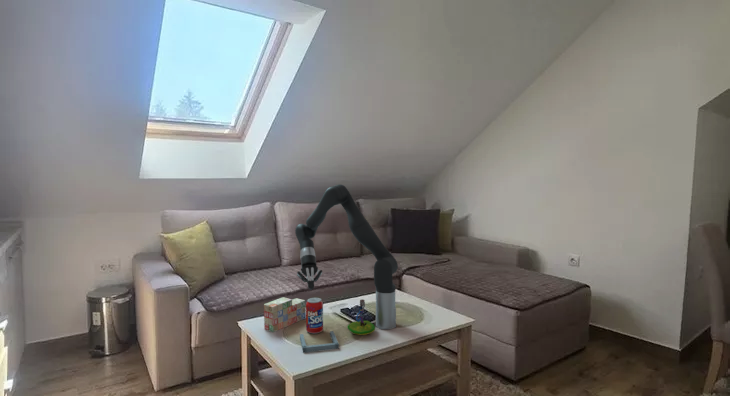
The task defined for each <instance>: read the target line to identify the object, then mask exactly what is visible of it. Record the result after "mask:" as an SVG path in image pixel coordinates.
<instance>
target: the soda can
mask: <svg viewBox="0 0 730 396" xmlns="http://www.w3.org/2000/svg"><path fill="white" fill-rule="evenodd" d="M305 306H306V318H305V329H306V332H307V333H309V334H314V335H315V334H316V335H317V334H319V333H321V332H323V330H324V302H323V301H322V298H319V297H311V298H308V299H307V300H306V302H305Z"/></svg>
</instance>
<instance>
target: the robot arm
mask: <svg viewBox="0 0 730 396" xmlns="http://www.w3.org/2000/svg"><path fill="white" fill-rule="evenodd" d="M338 205H341V206H342V208H343V209H344V211H345V213H346V216H347V221H348V228H349V230H350V232H351V234H352V236H353V237H355V240H357V242H358V243H360V244H361V245H362V246H363V247H365V248H366V249H367V250H369V252H370V253H372V255H373V257H375V259H376V261H375V263H374V266H373V282H374V286H375V328H378V329H381V330H391V329H396V328H397V307H396V285H395V283H394V282H393V279H394V278H393V274H395V273H396V272H397V271H398V268H399V265H398V261H397V260H396V258H395V257H394V256H393V254H392V253H391V252H390V251H389V250H388V248H387V247H386V246H385V245H384V243H383V242H382V241H381V239H380V238H379V236H378V235H377V233H376V232H375V231H374V229H373V227H372V225H371V223H369V222H368V220H367V218H365V216H364V215H363V212H362V211H361V210H360V208H359V207H358V205H357V204H356V201H355V200H354V198H353V197H352V195H351V193H350V191H349V189H348V188H347V187H346V186H345V185H343V184H335V185H333V186H330V187H328V188H326V190H325V192H324V193H323V195H322V197H321V199H320V201H319V203H318V204H317V205H316V208H314V209H313V211H312V213H311V214H310V215H309V216H308V217H307V219H306V220H305V223H299V224H297V225H296V227H295V230H294V231H295V236H296V239H297V241H298V243H299V249H300V253H299V257H300V265H301V266H300V267H301V268H300V270H299V271H297V273H296V276H297V277H298V278H299V279H300V280H302V282H303V283H307V288H308V290H310V291H313V289H315V282H317V281H318V280H319V279H320V277H321V276H322V274H323V270H322V269H319V267H318V265H317V258H316V251H315V246H314V245H315V244H314V240H313V238H315V236H316V233H317V230H318V228H319V227H320V225H321V224H323V222H324V221H325V219H326V216H327V213H328V212H329V210H331V209H332V208H333V207H334V206H338Z"/></svg>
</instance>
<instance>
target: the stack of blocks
mask: <svg viewBox="0 0 730 396" xmlns="http://www.w3.org/2000/svg"><path fill="white" fill-rule="evenodd" d="M263 319H264V320H263V321H264V323H263V324H264V325H263V326H264V330H267V331H269V332H272V333H275V332H277V331H279V330H282V329H284V328H286V327H288V326H291V325H292V324H295V323H298V322H299V321H302V320H306V300H305V299H300V298H297V297H296V298H293V299H291V298H287V297H284V296H283V297H280V298H277V299H274V300H272V301H269V302H266V303H264V304H263Z"/></svg>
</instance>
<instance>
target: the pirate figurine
mask: <svg viewBox="0 0 730 396" xmlns="http://www.w3.org/2000/svg"><path fill="white" fill-rule="evenodd" d="M365 302H366V301H365V299H360V300H359V306H358V311H359V312H356V314H355V315H356V318H355V320H356V321H353V322H350V323H349V324H347V327H346V328H347V330H348V331H349V332H350V333H352V334H353V335H357V336H358V335H361V336H366V335H368V334H369V335H370V334H372V333H373V332H375V330H376V324H374V323H372V322H371V321H370V320H364V318H363V313H364V310H365V307H366V303H365ZM358 317H359V319H358Z"/></svg>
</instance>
